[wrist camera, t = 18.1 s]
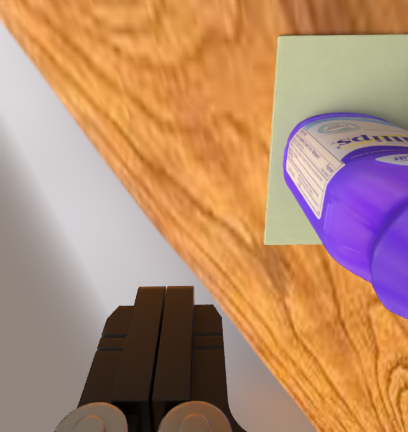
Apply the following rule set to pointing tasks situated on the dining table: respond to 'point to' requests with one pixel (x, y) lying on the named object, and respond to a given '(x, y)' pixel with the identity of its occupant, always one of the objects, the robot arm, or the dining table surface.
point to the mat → (328, 105)
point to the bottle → (356, 195)
